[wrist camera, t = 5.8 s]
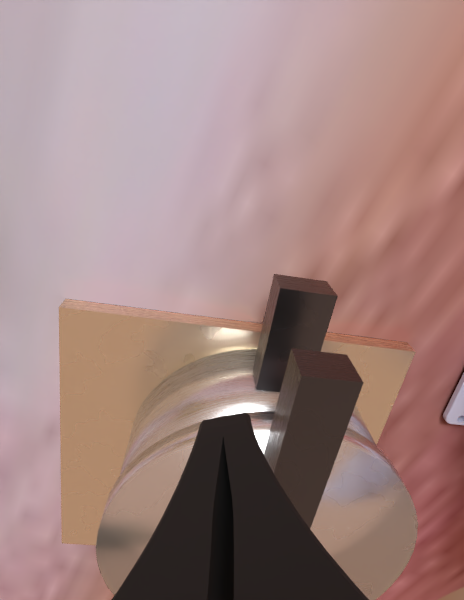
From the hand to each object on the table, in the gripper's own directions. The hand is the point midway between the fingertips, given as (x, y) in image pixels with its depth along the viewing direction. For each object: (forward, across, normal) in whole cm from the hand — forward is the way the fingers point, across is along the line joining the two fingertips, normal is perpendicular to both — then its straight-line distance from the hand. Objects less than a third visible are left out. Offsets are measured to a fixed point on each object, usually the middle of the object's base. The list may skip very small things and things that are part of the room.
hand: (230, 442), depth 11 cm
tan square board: (+10, +1, +8) cm, 13 cm away
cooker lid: (+4, 0, +8) cm, 9 cm away
